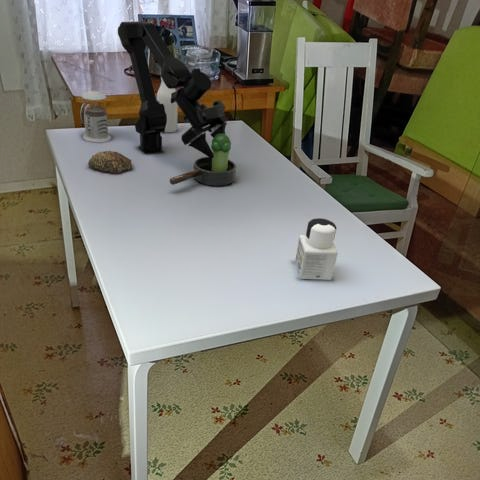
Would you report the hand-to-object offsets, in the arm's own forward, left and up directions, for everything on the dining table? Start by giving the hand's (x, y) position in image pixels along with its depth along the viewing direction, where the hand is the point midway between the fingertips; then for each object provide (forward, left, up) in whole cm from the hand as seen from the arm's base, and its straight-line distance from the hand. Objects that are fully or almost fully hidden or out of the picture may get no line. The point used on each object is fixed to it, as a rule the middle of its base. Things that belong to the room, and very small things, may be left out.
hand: (220, 153), depth 159 cm
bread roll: (-28, +20, -9) cm, 35 cm away
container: (-4, -55, -9) cm, 56 cm away
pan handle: (-13, -3, -6) cm, 14 cm away
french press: (-25, +46, -9) cm, 53 cm away
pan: (-1, +2, -9) cm, 9 cm away
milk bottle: (+3, +48, -9) cm, 49 cm away
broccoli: (0, 0, -8) cm, 8 cm away
